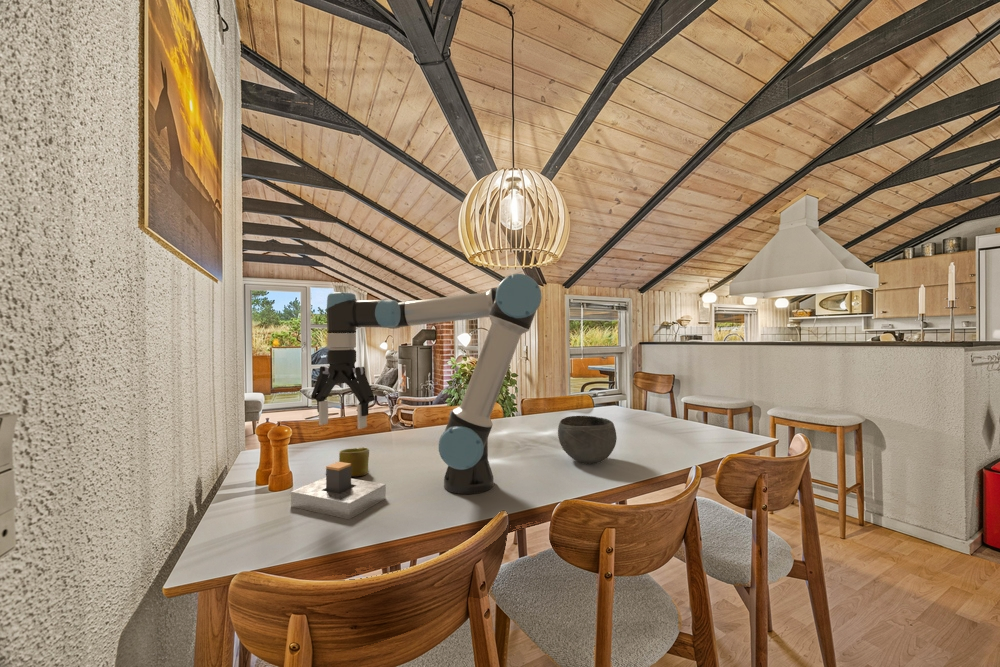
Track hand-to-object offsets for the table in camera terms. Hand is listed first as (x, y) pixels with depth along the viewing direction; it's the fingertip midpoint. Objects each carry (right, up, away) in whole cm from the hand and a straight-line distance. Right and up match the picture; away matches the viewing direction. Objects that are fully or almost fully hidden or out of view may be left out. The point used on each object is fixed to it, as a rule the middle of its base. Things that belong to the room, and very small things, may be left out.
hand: (342, 426), depth 112 cm
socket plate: (-1, -21, -1) cm, 21 cm away
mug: (-4, -21, +24) cm, 32 cm away
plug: (-1, -21, -1) cm, 21 cm away
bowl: (+75, -21, +35) cm, 85 cm away
